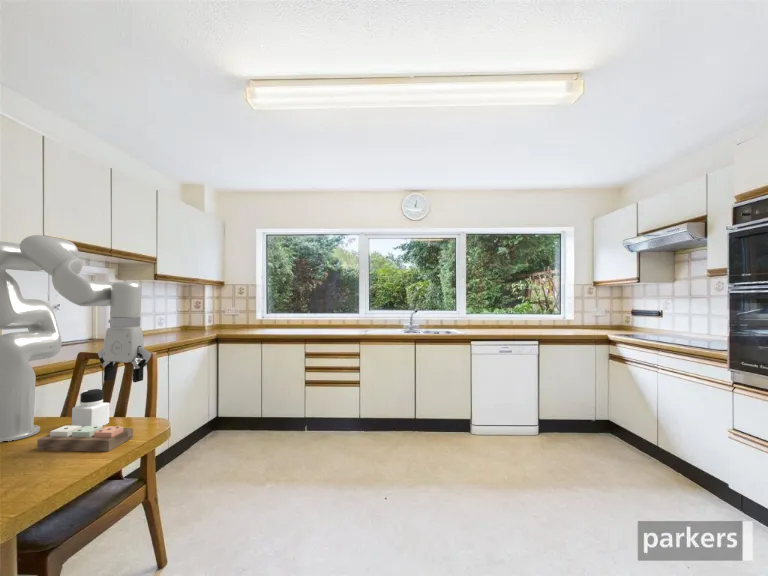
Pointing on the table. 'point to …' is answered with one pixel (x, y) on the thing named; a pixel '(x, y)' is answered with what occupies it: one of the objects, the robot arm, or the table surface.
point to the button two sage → (86, 431)
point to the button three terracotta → (109, 431)
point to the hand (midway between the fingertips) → (123, 380)
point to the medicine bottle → (91, 409)
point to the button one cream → (64, 431)
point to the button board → (84, 442)
